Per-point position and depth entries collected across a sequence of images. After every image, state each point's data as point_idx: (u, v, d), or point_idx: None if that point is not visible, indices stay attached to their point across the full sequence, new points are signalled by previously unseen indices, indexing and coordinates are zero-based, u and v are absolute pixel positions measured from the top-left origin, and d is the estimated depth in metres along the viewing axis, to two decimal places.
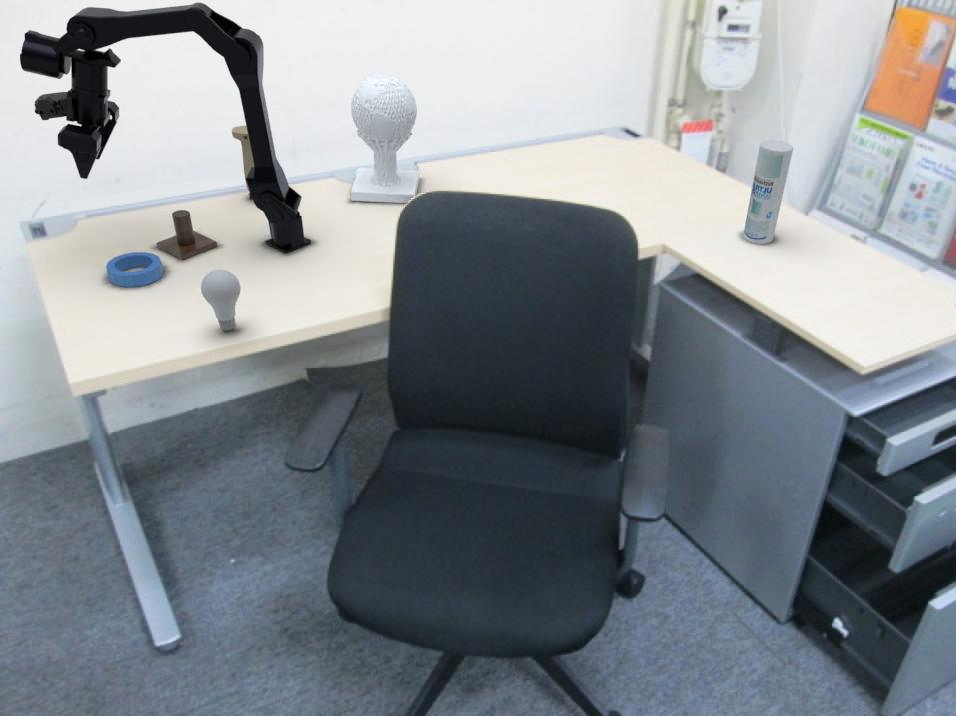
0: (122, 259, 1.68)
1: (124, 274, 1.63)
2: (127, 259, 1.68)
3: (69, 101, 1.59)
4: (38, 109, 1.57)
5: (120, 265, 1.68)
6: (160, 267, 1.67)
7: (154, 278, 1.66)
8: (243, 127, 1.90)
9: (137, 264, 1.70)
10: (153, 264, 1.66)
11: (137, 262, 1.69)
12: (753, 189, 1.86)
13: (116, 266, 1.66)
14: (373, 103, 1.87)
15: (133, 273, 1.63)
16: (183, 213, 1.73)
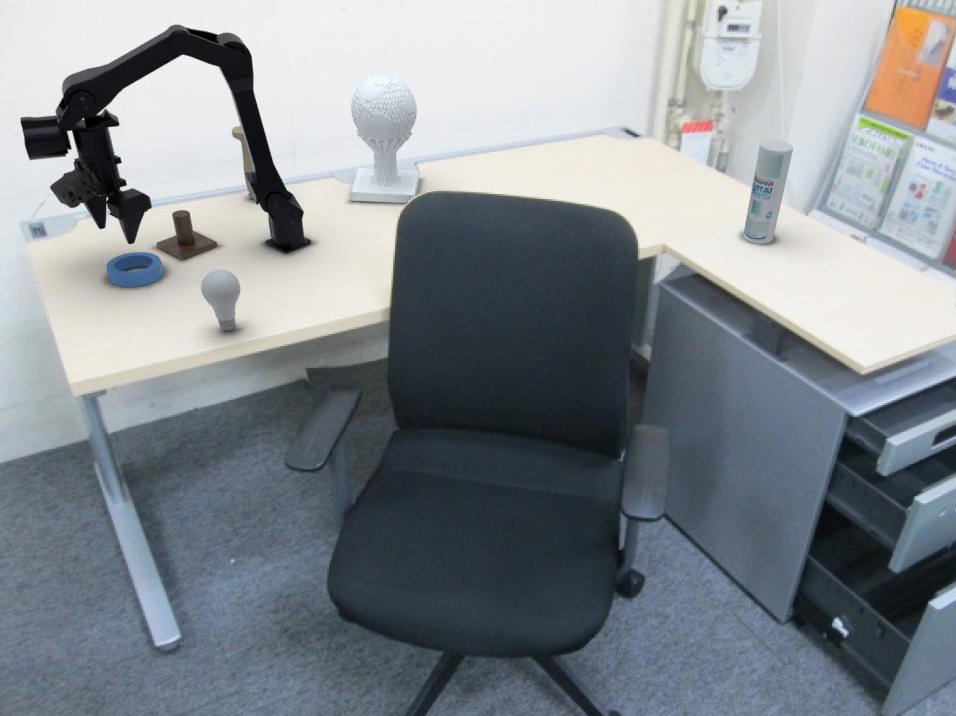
0: (122, 259, 1.68)
1: (124, 274, 1.63)
2: (127, 259, 1.68)
3: (93, 175, 1.55)
4: (76, 196, 1.52)
5: (120, 265, 1.68)
6: (160, 267, 1.67)
7: (154, 278, 1.66)
8: None
9: (137, 264, 1.70)
10: (153, 264, 1.66)
11: (137, 262, 1.69)
12: (753, 189, 1.86)
13: (116, 266, 1.66)
14: (373, 103, 1.87)
15: (133, 273, 1.63)
16: (183, 213, 1.73)
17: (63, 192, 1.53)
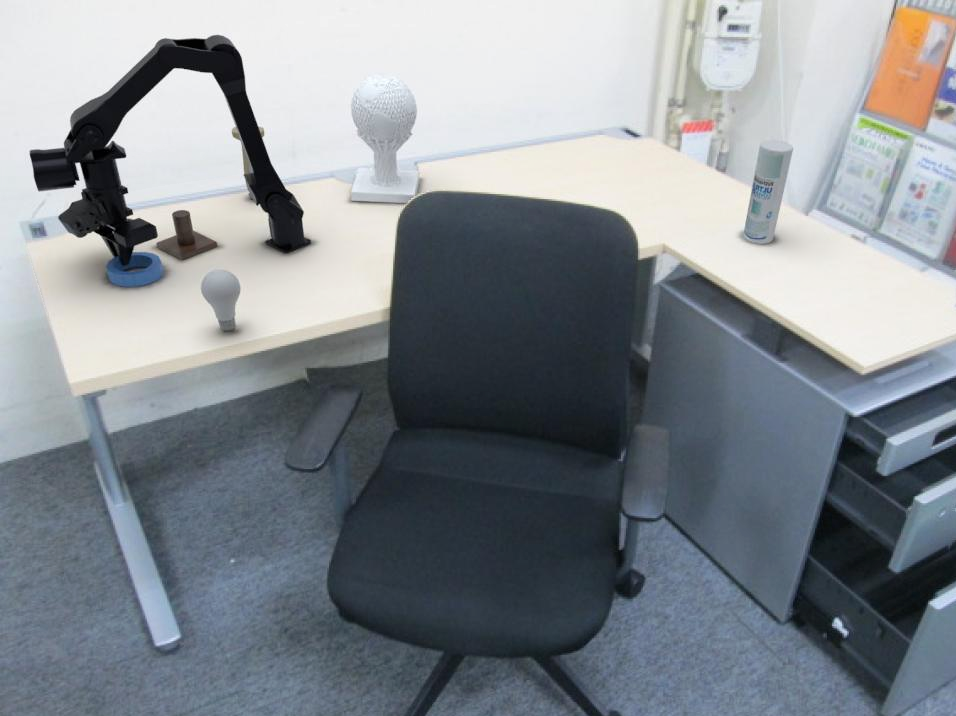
0: None
1: (124, 274, 1.63)
2: None
3: (100, 206, 1.58)
4: (84, 227, 1.55)
5: (120, 265, 1.68)
6: (160, 267, 1.67)
7: (154, 278, 1.66)
8: None
9: (137, 264, 1.70)
10: (153, 264, 1.66)
11: (137, 262, 1.69)
12: (753, 189, 1.86)
13: (116, 266, 1.66)
14: (373, 103, 1.87)
15: (133, 273, 1.63)
16: (183, 213, 1.73)
17: (71, 222, 1.56)
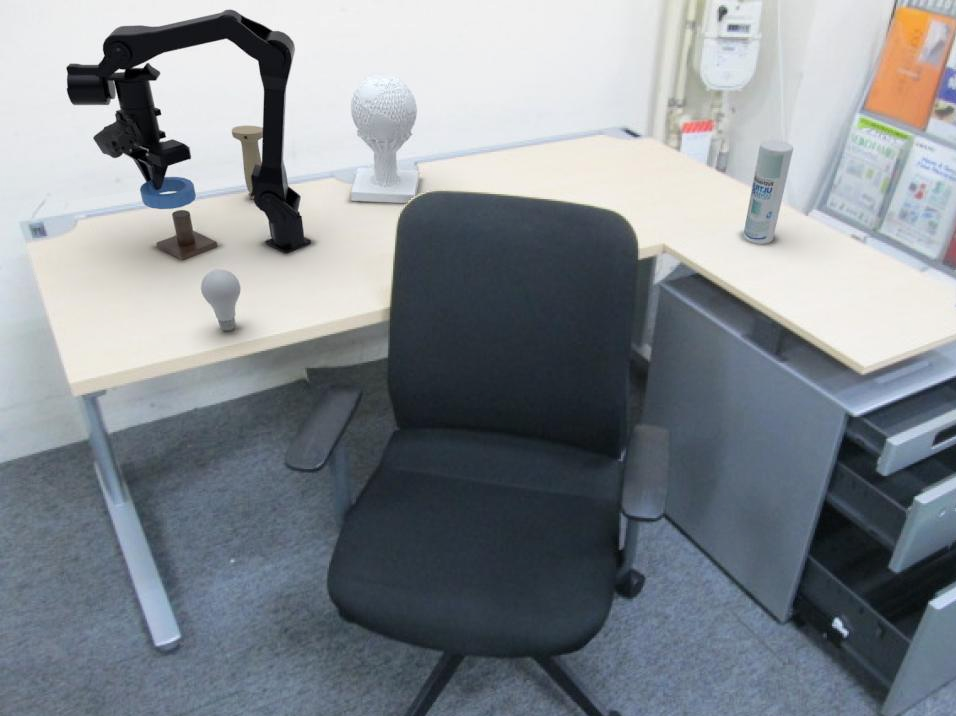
0: None
1: (159, 196, 1.65)
2: None
3: (135, 126, 1.60)
4: (120, 145, 1.57)
5: (153, 189, 1.69)
6: (193, 190, 1.69)
7: (188, 200, 1.68)
8: (243, 127, 1.90)
9: (169, 189, 1.72)
10: (186, 187, 1.68)
11: (169, 187, 1.71)
12: (753, 189, 1.86)
13: (149, 190, 1.68)
14: (373, 103, 1.87)
15: (168, 195, 1.65)
16: (183, 213, 1.73)
17: (107, 142, 1.58)
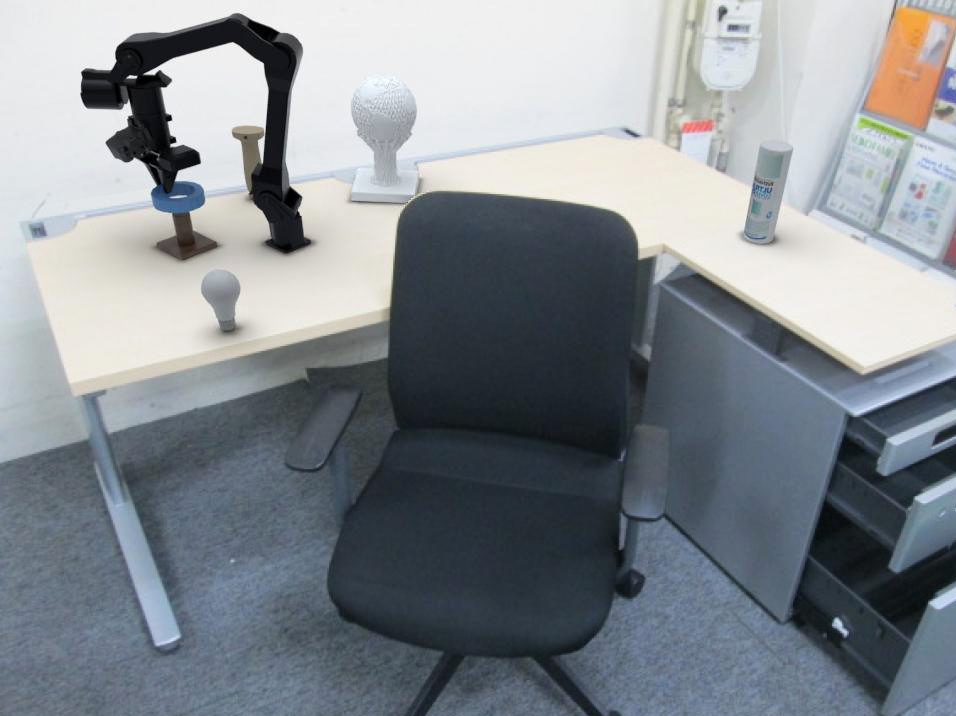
0: None
1: (170, 200, 1.67)
2: None
3: (146, 131, 1.63)
4: (131, 150, 1.60)
5: (163, 193, 1.72)
6: (203, 194, 1.72)
7: (198, 205, 1.71)
8: (243, 127, 1.90)
9: (179, 193, 1.74)
10: (196, 191, 1.71)
11: (179, 191, 1.74)
12: (753, 189, 1.86)
13: (160, 194, 1.71)
14: (373, 103, 1.87)
15: (179, 199, 1.68)
16: (183, 213, 1.73)
17: (118, 147, 1.61)
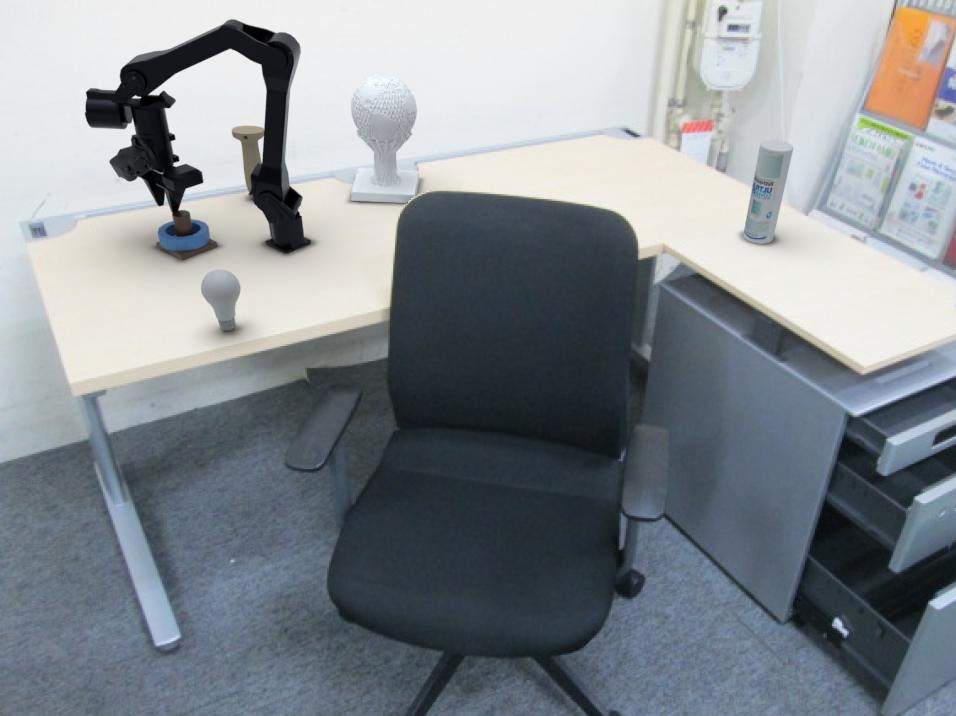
0: (171, 226, 1.77)
1: (176, 239, 1.72)
2: None
3: (149, 151, 1.65)
4: (135, 170, 1.62)
5: (169, 231, 1.77)
6: (208, 232, 1.77)
7: (204, 242, 1.76)
8: (243, 127, 1.90)
9: None
10: (202, 229, 1.76)
11: None
12: (753, 189, 1.86)
13: (166, 232, 1.76)
14: (373, 103, 1.87)
15: (185, 238, 1.73)
16: (183, 213, 1.73)
17: (122, 166, 1.63)
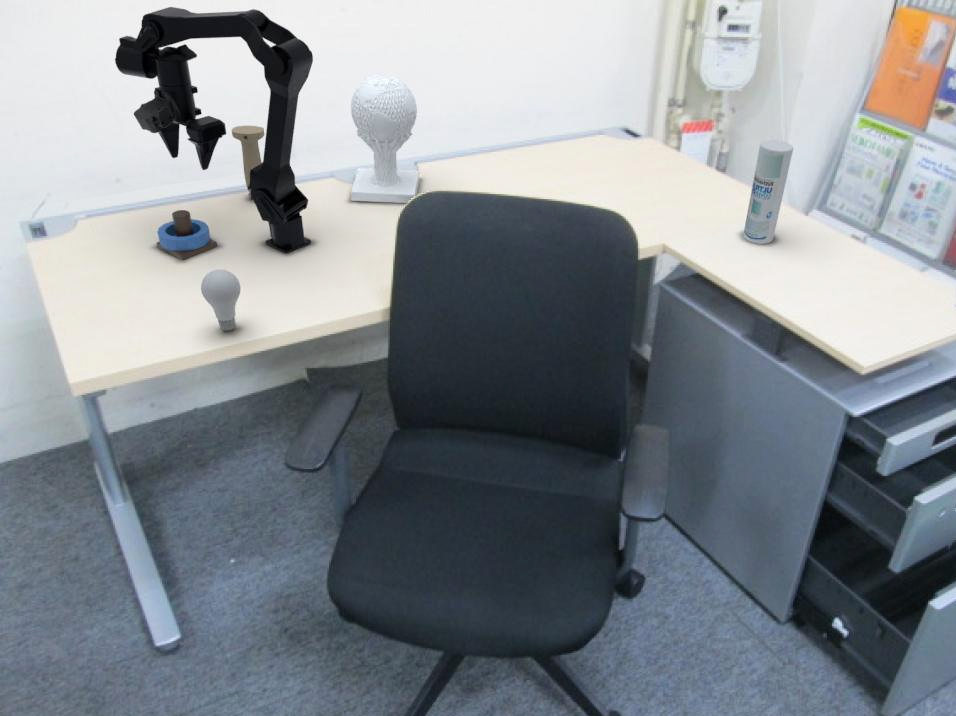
0: (171, 226, 1.77)
1: (176, 239, 1.72)
2: None
3: (173, 103, 1.67)
4: (160, 121, 1.65)
5: (169, 231, 1.77)
6: (208, 232, 1.77)
7: (204, 242, 1.76)
8: (243, 127, 1.90)
9: None
10: (202, 229, 1.76)
11: None
12: (753, 189, 1.86)
13: (166, 232, 1.76)
14: (373, 103, 1.87)
15: (185, 238, 1.73)
16: (183, 213, 1.73)
17: (147, 117, 1.65)
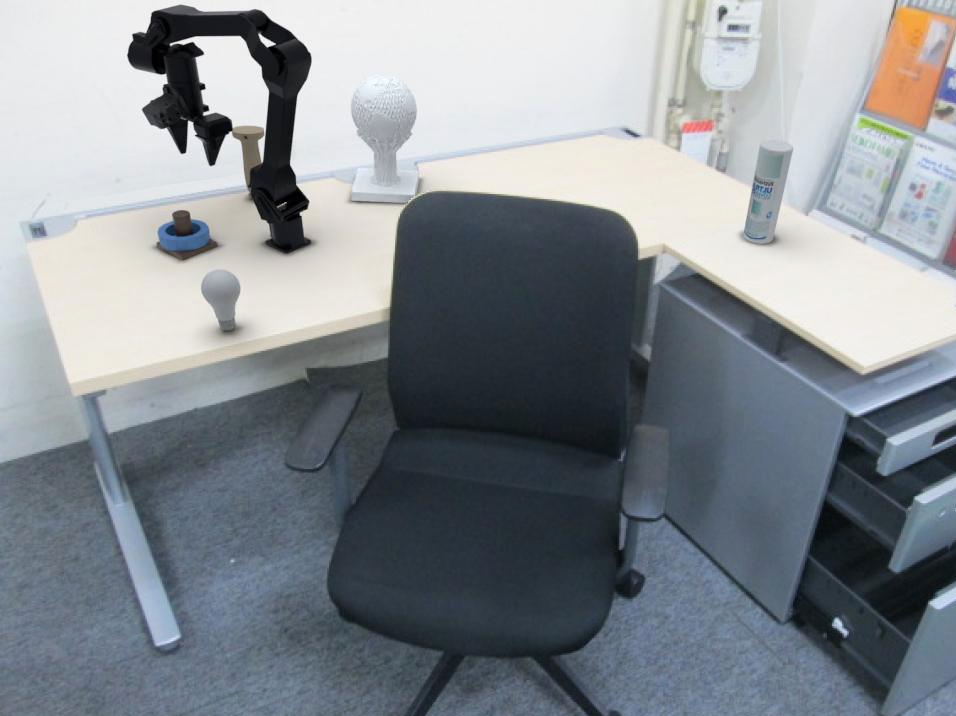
0: (171, 226, 1.77)
1: (176, 239, 1.72)
2: None
3: (181, 99, 1.69)
4: (167, 117, 1.67)
5: (169, 231, 1.77)
6: (208, 232, 1.77)
7: (204, 242, 1.76)
8: (243, 127, 1.90)
9: None
10: (202, 229, 1.76)
11: None
12: (753, 189, 1.86)
13: (166, 232, 1.76)
14: (373, 103, 1.87)
15: (185, 238, 1.73)
16: (183, 213, 1.73)
17: (155, 113, 1.67)
